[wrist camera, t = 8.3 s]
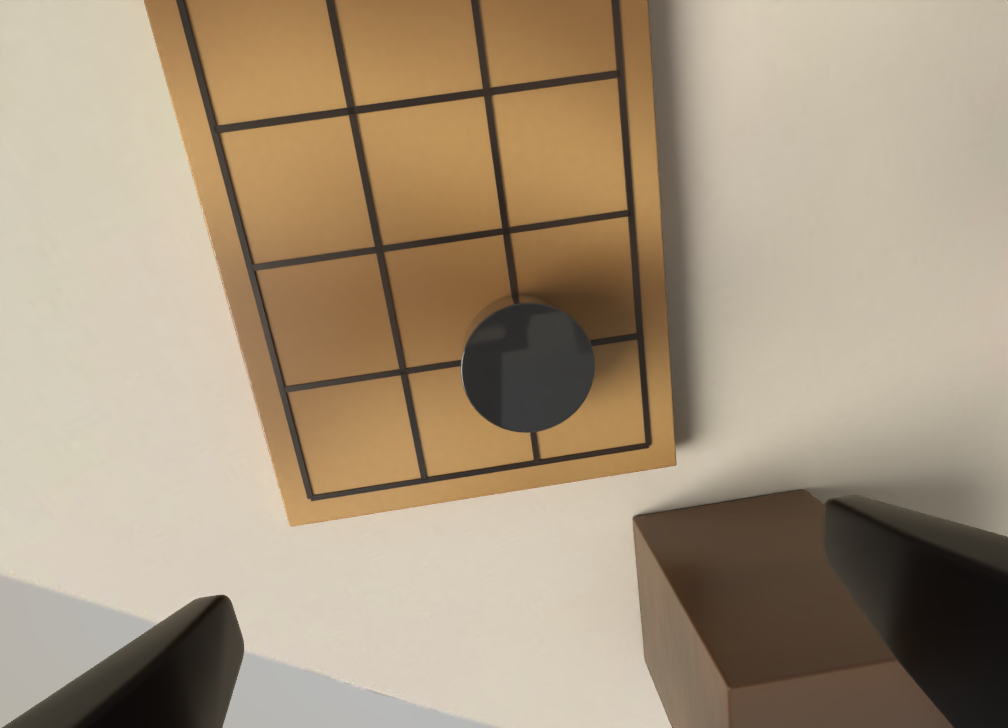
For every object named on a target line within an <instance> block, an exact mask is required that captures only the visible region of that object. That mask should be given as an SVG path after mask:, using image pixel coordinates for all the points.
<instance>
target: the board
mask: <svg viewBox="0 0 1008 728" xmlns="http://www.w3.org/2000/svg"><path fill="white" fill-rule="evenodd" d="M144 3H145V6H146V10H147V14H148V17H149V21H150V24H151V28H152V32H153V35H154V39H155V43H156V46H157V50H158V53H159V57H160V61H161V64H162V68H163V71H164V75H165V79H166V82H167V86H168V89H169V93H170V97H171V100H172V104H173V107H174V111H175V115H176V118H177V122H178V125H179V129H180V133H181V136H182V140H183V143H184V147H185V151H186V154H187V158H188V161H189V165H190V169H191V172H192V176H193V179H194V183H195V187H196V190H197V194H198V197H199V201H200V205H201V208H202V212H203V215H204V219H205V223H206V226H207V230H208V233H209V237H210V241H211V244H212V248H213V251H214V255H215V259H216V262H217V266H218V269H219V273H220V277H221V280H222V284H223V287H224V291H225V295H226V298H227V302H228V305H229V309H230V313H231V316H232V320H233V323H234V327H235V331H236V334H237V338H238V341H239V345H240V349H241V352H242V356H243V359H244V363H245V367H246V370H247V374H248V377H249V381H250V385H251V388H252V392H253V395H254V399H255V403H256V406H257V410H258V413H259V417H260V421H261V424H262V428H263V432H264V435H265V439H266V442H267V446H268V450H269V453H270V457H271V460H272V464H273V468H274V471H275V475H276V478H277V482H278V486H279V489H280V493H281V496H282V500H283V504H284V507H285V511H286V514H287V518H288V522H289V525H290V526H298V525H304V524H310V523H317V522H323V521H329V520H336V519H342V518H348V517H354V516H361V515H367V514H373V513H380V512H386V511H392V510H399V509H405V508H411V507H417V506H424V505H430V504H436V503H443V502H449V501H455V500H462V499H468V498H474V497H480V496H487V495H493V494H499V493H506V492H512V491H518V490H525V489H531V488H537V487H543V486H550V485H556V484H562V483H569V482H575V481H581V480H588V479H594V478H600V477H606V476H613V475H619V474H625V473H632V472H638V471H644V470H651V469H657V468H663V467H669V466H675V465H676V450H675V434H674V417H673V401H672V384H671V368H670V351H669V335H668V319H667V302H666V286H665V269H664V253H663V236H662V220H661V204H660V187H659V171H658V154H657V138H656V121H655V105H654V88H653V72H652V56H651V39H650V23H649V6H648V0H144ZM519 294H527V295H535V296H539V297H542V298H545V299H548V300H550V301H552V302H554V303H555V304H557V305H558V306H560V307H561V308H562V309H563V310H564V311H565V312H566V313H568V314H569V315H570V316H571V317H572V318H573V319H574V320H576V321H577V322H578V324H579V325H580V326H581V327H582V328H583V330H584V331H585V333H586V334H587V336H588V338H589V340H590V342H591V345H592V349H593V353H594V359H595V372H594V379H593V383H592V386H591V389H590V391H589V394H588V395H587V397H586V399H585V401H584V402H583V404H582V405H581V406H580V408H579V409H578V410H577V411H576V412H575V413H574V414H573V415H572V416H570V417H569V418H568V419H567V420H565V421H564V422H562V423H561V424H559V425H557V426H555V427H552V428H549V429H547V430H543V431H538V432H530V433H521V432H513V431H509V430H505V429H502V428H500V427H498V426H495V425H494V424H492V423H490V422H489V421H487V420H486V419H485V418H483V417H482V416H481V415H480V414H479V413H478V412H477V411H476V410H475V409H474V407H473V406H472V405H471V403H470V401H469V400H468V398H467V396H466V394H465V391H464V388H463V384H462V380H461V353H462V345H463V340H464V336H465V333H466V331H467V329H468V327H469V325H470V324H471V322H472V320H473V319H474V318H475V317H476V315H477V314H478V313H479V312H480V311H481V310H482V309H484V308H485V307H486V306H488V305H489V304H491V303H492V302H494V301H496V300H498V299H501V298H504V297H507V296H511V295H519Z"/></svg>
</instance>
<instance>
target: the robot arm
mask: <svg viewBox="0 0 1008 728" xmlns="http://www.w3.org/2000/svg"><path fill="white" fill-rule="evenodd" d="M823 551H824V555H825V558H826V560H827V562H828V564H829V565H830V567H831V568H832V570H833V571H834V572H835V574H836V575H837V577H838V578H839V579H840V581H841V582H842V584H843V585H844V587H845V588H846V589H847V591H848V592H849V594H850V595H851V596H852V598H853V599H854V601H855V602H856V604H857V605H858V606H859V608H860V609H861V611H862V612H863V614H864V615H865V616H866V618H867V619H868V621H869V622H870V623H871V625H872V626H873V628H874V629H875V631H876V632H877V633H878V635H879V636H880V638H881V639H882V640H883V642H884V643H885V645H886V646H887V647H888V649H889V650H890V651H891V653H892V654H893V655H894V657H895V658H896V659H897V660H898V662H899V663H900V664H901V665H902V667H903V668H904V669H905V670H906V671H907V673H908V674H909V675H910V676H911V678H912V679H913V680H914V681H915V682H916V683H917V685H918V686H919V687H920V688H921V689H922V691H923V692H924V693H925V694H926V695H927V697H928V698H929V699H930V700H931V701H932V702H933V704H934V705H935V706H936V707H937V708H938V710H939V711H940V712H941V713H942V714H943V715H944V717H945V718H946V719H947V720H948V721H949V723H950V724H951V725H952V726H953V727H954V728H1008V537H1007V536H1003V535H999V534H996V533H992V532H988V531H985V530H981V529H977V528H974V527H970V526H967V525H963V524H959V523H956V522H952V521H948V520H945V519H941V518H937V517H934V516H930V515H927V514H923V513H919V512H916V511H912V510H908V509H905V508H901V507H897V506H894V505H890V504H886V503H883V502H879V501H876V500H872V499H868V498H865V497H861V496H857V495H850V496H844V497H837V498H832V499H829V500H828V501H827V502H826V503H825V505H824V511H823ZM243 654H244V641H243V637H242V634H241V631H240V627H239V624H238V621H237V618H236V615H235V611H234V608H233V605H232V603H231V600H230V599H229V598H228V597H227V596H225V595H216V596H209V597H203V598H198V599H195V600H193V601H192V602H190V603H189V604H187V605H186V606H184V607H183V608H181V609H180V610H178V611H177V612H175V613H174V614H172V615H171V616H169V617H168V618H166V619H165V620H163V621H162V622H160V623H159V624H157V625H156V626H154V627H153V628H152V629H150V630H148V631H147V632H145V633H144V634H142V635H141V636H139V637H138V638H136V639H135V640H133V641H132V642H130V643H129V644H127V645H126V646H124V647H123V648H121V649H120V650H118V651H117V652H115V653H114V654H112V655H111V656H109V657H108V658H106V659H105V660H103V661H102V662H100V663H99V664H97V665H96V666H94V667H93V668H91V669H90V670H88V671H87V672H85V673H84V674H82V675H81V676H79V677H78V678H76V679H75V680H73V681H72V682H70V683H69V684H67V685H66V686H64V687H63V688H61V689H60V690H58V691H57V692H55V693H54V694H52V695H51V696H49V697H48V698H46V699H45V700H43V701H42V702H40V703H39V704H37V705H36V706H34V707H33V708H31V709H30V710H28V711H27V712H25V713H24V714H22V715H21V716H19V717H17V718H16V719H14V720H13V721H11V722H10V723H8V724H7V725H6V726H4V727H2V728H222V727H223V723H224V720H225V717H226V713H227V710H228V706H229V703H230V700H231V696H232V693H233V689H234V686H235V683H236V680H237V676H238V673H239V670H240V666H241V663H242V659H243Z"/></svg>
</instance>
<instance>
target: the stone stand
mask: <svg viewBox="0 0 1008 728" xmlns="http://www.w3.org/2000/svg"><path fill="white" fill-rule="evenodd" d="M823 511H824V504H823V503H821V502H820V501H819V500H818V499H816V498H815V497H814V496H812V495H811V494H810V493H809V492H807V491H806V490H797V491H791V492H785V493H779V494H772V495H766V496H760V497H754V498H748V499H741V500H735V501H729V502H723V503H716V504H710V505H704V506H698V507H692V508H685V509H679V510H673V511H667V512H661V513H654V514H648V515H642V516H636V517H633V531H634V542H635V554H636V565H637V577H638V588H639V600H640V611H641V623H642V634H643V646H644V657H645V662H646V665H647V667H648V670H649V672H650V675H651V677H652V680H653V682H654V684H655V687H656V689H657V692H658V694H659V697H660V699H661V702H662V704H663V707H664V709H665V712H666V714H667V717H668V719H669V722H670V724H671V726H672V728H954V727H953V726H952V725H951V724H950V723H949V721H948V720H947V719H946V718H945V717H944V715H943V714H942V713H941V712H940V711H939V710H938V708H937V707H936V706H935V705H934V704H933V702H932V701H931V700H930V699H929V698H928V697H927V695H926V694H925V693H924V692H923V691H922V689H921V688H920V687H919V686H918V685H917V683H916V682H915V681H914V680H913V679H912V678H911V676H910V675H909V674H908V673H907V671H906V670H905V669H904V668H903V667H902V665H901V664H900V663H899V662H898V660H897V659H896V658H895V657H894V655H893V654H892V653H891V651H890V650H889V649H888V647H887V646H886V645H885V643H884V642H883V640H882V639H881V638H880V636H879V635H878V633H877V632H876V631H875V629H874V628H873V626H872V625H871V623H870V622H869V621H868V619H867V618H866V616H865V615H864V614H863V612H862V611H861V609H860V608H859V606H858V605H857V604H856V602H855V601H854V599H853V598H852V596H851V595H850V594H849V592H848V591H847V589H846V588H845V587H844V585H843V584H842V582H841V581H840V579H839V578H838V577H837V575H836V574H835V572H834V571H833V570H832V568H831V567H830V565H829V564H828V562H827V560H826V558H825V555H824V551H823Z"/></svg>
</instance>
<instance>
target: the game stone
mask: <svg viewBox="0 0 1008 728" xmlns="http://www.w3.org/2000/svg"><path fill="white" fill-rule="evenodd" d="M594 372H595V359H594V353H593V349H592V345H591V342H590V340H589V338H588V336H587V334H586V333H585V331H584V330H583V328H582V327H581V326H580V325H579V324H578V322H577V321H576V320H574V319H573V318H572V317H571V316H570V315H569V314H568V313H566V312H565V311H564V310H563V309H562V308H561V307H560V306H558V305H557V304H555V303H554V302H552V301H550V300H548V299H545V298H542V297H539V296H535V295H527V294H519V295H511V296H507V297H504V298H501V299H498V300H496V301H494V302H492V303H491V304H489V305H488V306H486V307H485V308H484V309H482V310H481V311H480V312H479V313H478V314H477V315H476V317H475V318H474V319H473V320H472V322H471V324H470V325H469V327H468V329H467V331H466V333H465V336H464V340H463V345H462V353H461V380H462V384H463V388H464V391H465V394H466V396H467V398H468V400H469V401H470V403H471V405H472V406H473V407H474V409H475V410H476V411H477V412H478V413H479V414H480V415H481V416H482V417H483V418H485V419H486V420H487V421H489V422H490V423H492V424H494V425H495V426H498V427H500V428H502V429H505V430H509V431H513V432H521V433H530V432H538V431H543V430H547V429H549V428H552V427H555V426H557V425H559V424H561V423H562V422H564V421H565V420H567V419H568V418H569V417H570V416H572V415H573V414H574V413H575V412H576V411H577V410H578V409H579V408H580V406H581V405H582V404H583V402H584V401H585V399H586V397H587V395H588V394H589V391H590V389H591V386H592V383H593V379H594Z"/></svg>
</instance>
